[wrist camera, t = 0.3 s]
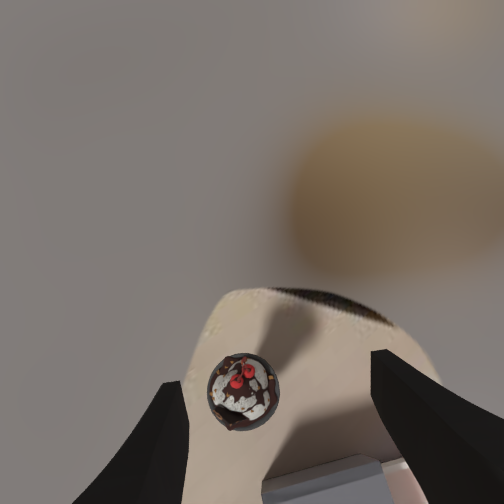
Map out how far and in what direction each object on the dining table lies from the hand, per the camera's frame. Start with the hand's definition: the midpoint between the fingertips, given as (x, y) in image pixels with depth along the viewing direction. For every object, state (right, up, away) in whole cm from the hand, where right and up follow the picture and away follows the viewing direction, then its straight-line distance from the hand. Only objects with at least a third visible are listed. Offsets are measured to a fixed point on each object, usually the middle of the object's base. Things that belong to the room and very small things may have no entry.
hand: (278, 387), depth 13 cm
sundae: (-1, -12, +28) cm, 31 cm away
